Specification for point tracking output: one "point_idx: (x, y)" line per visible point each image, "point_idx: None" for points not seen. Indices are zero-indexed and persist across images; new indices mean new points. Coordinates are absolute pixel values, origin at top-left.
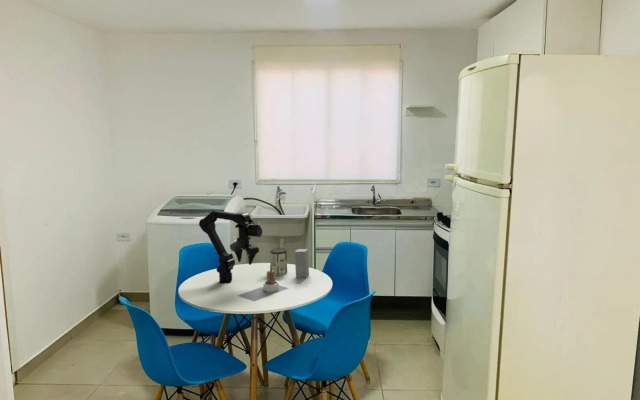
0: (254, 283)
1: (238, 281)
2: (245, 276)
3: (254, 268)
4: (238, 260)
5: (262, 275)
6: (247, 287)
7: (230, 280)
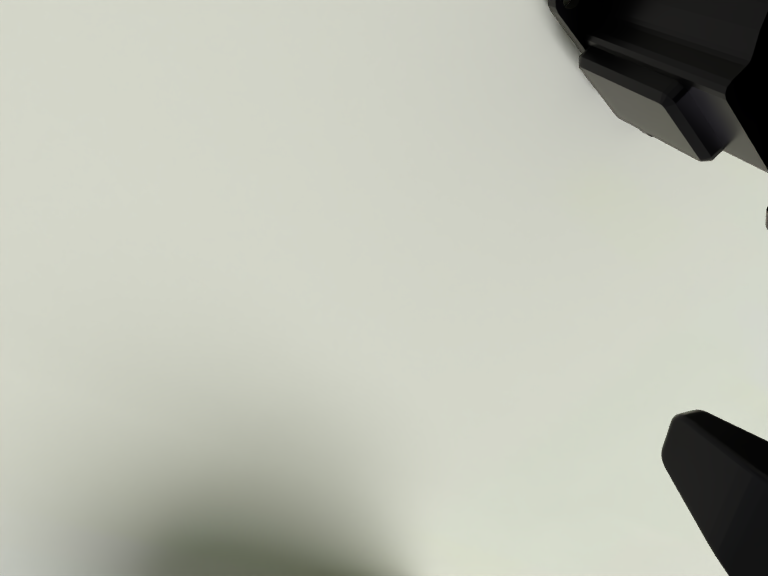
0: (180, 305)
1: (482, 160)
2: (565, 348)
3: (667, 518)
4: (736, 440)
5: (416, 510)
6: (23, 83)
7: (590, 41)
